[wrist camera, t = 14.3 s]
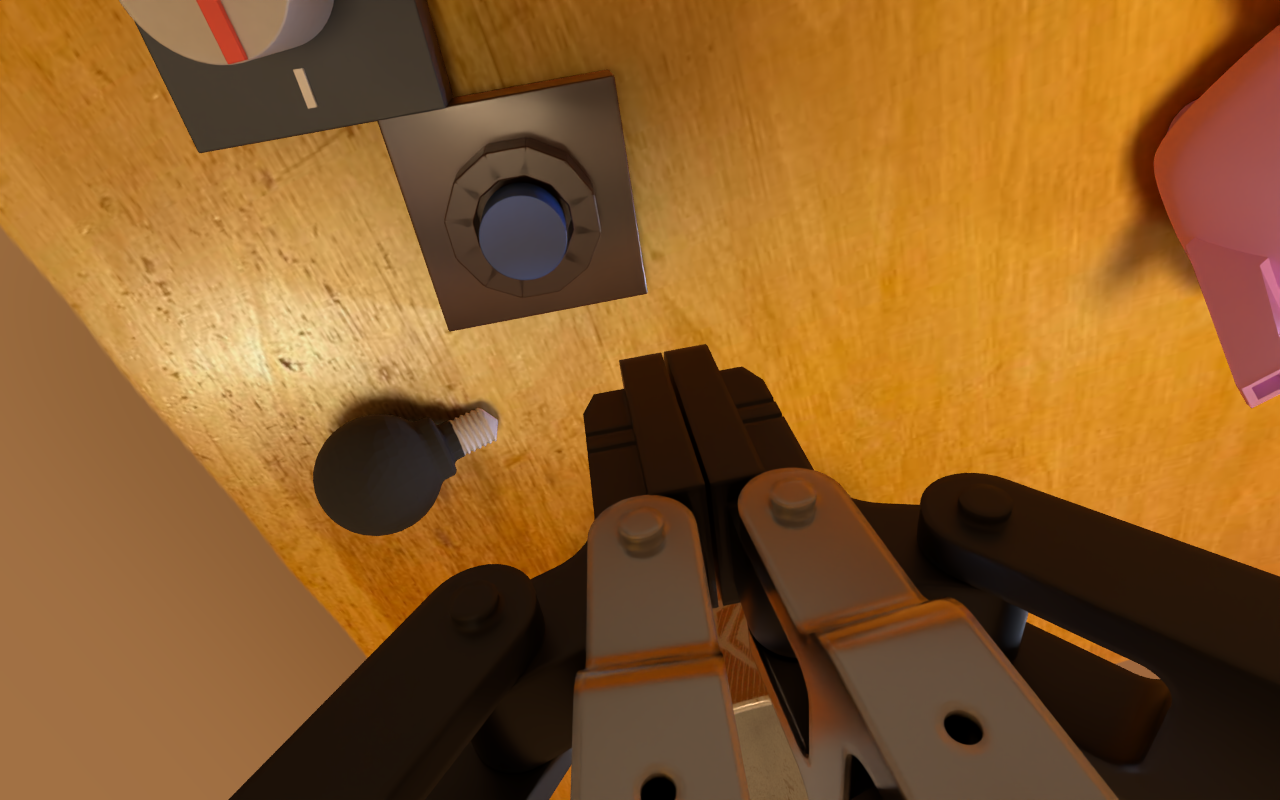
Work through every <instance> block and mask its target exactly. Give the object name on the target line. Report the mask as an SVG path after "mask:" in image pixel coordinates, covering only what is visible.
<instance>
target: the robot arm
mask: <svg viewBox="0 0 1280 800" xmlns="http://www.w3.org/2000/svg"><path fill="white" fill-rule="evenodd" d="M619 363H620V369H621V375H622V381H623V386H624V389H621V390H615V391H610V392H605V393H599V394H594V395H593V397H592V399H591V401H590V403H589V404H588V406H587V408H586V410H585V412H584V414H583V415H584V424H585V433H586V442H587V451H588V461H589V470H590V479H591V488H592V497H593V506H594V515H595V521H594V522H593V524H592V525H591V528H590V530H589V533H588V540H587V542H586V543H585V545H584V546H583V547H582V548H581V549H580V550H579V551H578V552H577V553H576V554H575V555H574V556H573V557H572V558H570V559H569V560H567V561H566V562H564V563H563V564H561V565H559V566H557V567H555V568H553V569H551V570H549V571H547V572H545V573H543V574H541V575H539V576H536V577H534V578H532V579H529V578H528V576H527V575H526V574H524V573H523V572H522V571H520V570H518V569H516V568H514V567H511V566H507V565H501V564H488V565H481V566H477V567H473V568H470V569H467V570H465V571H462V572H460V573H458V574H456V575H454V576H452V577H451V578H449V579H448V580H446V581H445V582H444V583H442V584H441V585H440V586H439V587H438V588H437V589H435V590H434V591H433V592H432V593H431V594H430V595H429V596H428V597H427V598H426V599H425V600H424V601H423V602H422V603H421V605H420V606H419V607H418V608H417V609H416V610H415V611H414V612H413V613H412V614H411V615H410V616H409V617H408V618H407V619H406V620H405V621H404V622H403V623H402V624H401V625H400V626H399V627H398V628H397V629H396V630H395V631H394V632H393V633H392V634H391V635H390V636H389V637H388V638H387V639H386V640H385V641H384V642H383V643H382V644H381V645H380V646H379V647H378V648H377V649H376V650H375V651H374V652H373V653H372V654H371V655H370V656H369V657H368V658H367V659H366V661H364V662H363V663H362V664H361V665H360V667H359V668H358V669H357V670H356V671H355V672H354V673H353V674H352V675H351V676H350V677H349V678H348V679H347V680H346V681H345V682H344V683H343V684H342V685H341V686H340V687H339V688H338V689H337V690H336V691H335V692H334V693H333V694H332V695H331V696H330V697H329V698H328V699H327V700H326V701H325V702H324V703H323V704H322V705H321V706H320V707H319V708H318V709H317V710H316V711H315V712H314V713H313V714H312V715H311V716H310V717H309V718H308V719H307V720H306V721H305V722H304V723H303V724H302V726H301V727H299V729H298V730H297V731H296V732H295V733H294V734H293V735H292V736H291V737H290V738H289V739H288V740H287V741H286V742H285V743H284V744H283V745H282V746H281V747H280V748H279V749H278V750H277V751H276V752H275V753H274V754H273V755H272V756H271V757H270V758H269V759H268V760H267V761H266V762H265V763H264V764H263V765H262V766H261V767H260V768H259V769H258V770H257V771H256V772H255V773H254V774H253V775H252V776H251V777H250V778H249V779H248V780H247V781H246V782H245V783H244V784H243V785H242V786H241V788H240V789H238V790H237V792H236V793H235V794H234V795H233V796H232V797H231V798H230V799H229V800H549V799H550V797H551V796H552V794H553V793H554V791H555V789H556V788H557V786H558V785H559V783H560V782H561V780H562V778H563V777H564V775H565V774H566V772H567V771H568V769H569V767H570V766H571V764H572V768H571V800H750V795H749V790H748V785H747V779H746V774H745V769H744V763H743V758H742V752H741V747H740V742H739V736H738V731H737V726H736V720H735V715H734V710H733V704H732V699H731V693H730V688H729V683H728V677H727V672H726V667H725V662H724V658H723V654H722V651H720V648H719V643H718V637H717V632H716V626H715V621H714V616H713V608H717V607H719V605H718V596H717V587H718V590H719V593H720V597H721V600H722V603H723V606H726V605H731V604H736V603H741V605H742V608H743V611H744V614H745V617H746V620H747V626H748V639H749V648H750V651H751V654H752V657H753V659H754V662H755V664H756V667H757V669H758V671H759V674H760V676H761V679H762V681H763V684H764V686H765V688H766V691H767V693H768V696H769V698H770V700H771V703H772V705H773V708H774V710H775V713H776V715H777V717H778V720H779V722H780V725H781V727H782V730H783V732H784V734H785V737H786V739H787V742H788V744H789V747H790V749H791V751H792V754H793V756H794V759H795V761H796V763H797V766H798V768H799V771H800V774H801V777H802V780H803V783H804V786H805V789H806V793H807V797H808V800H1280V577H1279V576H1277V575H1274V574H1271V573H1268V572H1265V571H1263V570H1260V569H1257V568H1254V567H1251V566H1249V565H1246V564H1243V563H1240V562H1237V561H1234V560H1232V559H1229V558H1226V557H1223V556H1220V555H1218V554H1215V553H1212V552H1209V551H1206V550H1204V549H1201V548H1198V547H1195V546H1192V545H1190V544H1187V543H1184V542H1181V541H1178V540H1176V539H1173V538H1170V537H1167V536H1164V535H1162V534H1159V533H1156V532H1153V531H1150V530H1147V529H1145V528H1142V527H1139V526H1136V525H1133V524H1131V523H1128V522H1125V521H1122V520H1119V519H1117V518H1114V517H1111V516H1108V515H1105V514H1103V513H1100V512H1097V511H1094V510H1091V509H1089V508H1086V507H1083V506H1080V505H1077V504H1075V503H1072V502H1069V501H1066V500H1063V499H1060V498H1058V497H1055V496H1052V495H1049V494H1046V493H1044V492H1041V491H1038V490H1035V489H1032V488H1030V487H1027V486H1024V485H1021V484H1018V483H1016V482H1013V481H1010V480H1007V479H1004V478H1001V477H997V476H993V475H988V474H980V473H961V474H953V475H949V476H945V477H943V478H940V479H938V480H936V481H935V482H933V483H931V484H930V485H929V486H928V487H927V488H926V489H925V491H924V493H923V494H922V497H921V502H920V505H910V504H886V503H872V502H866V501H861V500H857V499H853V498H850V496H849V495H848V494H847V492H846V491H845V490H844V488H843V487H842V486H841V485H840V484H839V483H838V482H836V481H835V480H834V479H832V478H831V477H829V476H827V475H825V474H823V473H820V472H818V471H814V469H813V468H812V466H811V464H810V462H809V461H808V459H807V457H806V455H805V453H804V452H803V450H802V448H801V446H800V445H799V443H798V441H797V439H796V437H795V436H794V434H793V432H792V430H791V429H790V427H789V425H788V423H787V421H786V420H785V418H784V417H782V413H781V411H780V409H779V407H778V405H777V404H776V402H774V400H773V397H772V395H771V393H770V391H769V390H768V388H767V386H766V384H765V382H764V381H763V379H761V378H759V377H758V376H756V375H755V374H753V373H752V372H750V371H748V370H747V369H745V368H744V367H737V368H731V369H726V370H721V371H719V370H718V367H717V365H716V363H715V361H714V359H713V357H712V354H711V352H710V350H709V348H708V346H707V345H706V344H703V345H698V346H692V347H687V348H682V349H676V350H671V351H666V352H664V360H663V357H662V354H661V353H656V354H650V355H645V356H640V357H634V358H629V359H624V360H619ZM716 583H717V587H716ZM1028 613H1031V614H1033V615H1036V616H1038V617H1040V618H1042V619H1044V620H1046V621H1048V622H1051V623H1053V624H1055V625H1057V626H1059V627H1061V628H1063V629H1066V630H1068V631H1070V632H1072V633H1074V634H1076V635H1078V636H1081V637H1083V638H1085V639H1087V640H1089V641H1091V642H1093V643H1096V644H1098V645H1100V646H1102V647H1104V648H1106V649H1108V650H1111V651H1113V652H1115V653H1117V654H1119V655H1121V656H1123V657H1126V658H1128V659H1130V660H1132V661H1134V662H1136V663H1138V664H1140V665H1142V666H1144V667H1146V668H1147V669H1149V670H1151V671H1152V672H1153V673H1154V674H1156V675H1157V676H1158V677H1159V678H1160V679H1150V678H1146V677H1142V676H1139V675H1137V674H1134V673H1132V672H1130V671H1128V670H1126V669H1124V668H1122V667H1120V666H1118V665H1116V664H1113V663H1111V662H1109V661H1107V660H1105V659H1103V658H1101V657H1099V656H1097V655H1095V654H1092V653H1090V652H1088V651H1086V650H1084V649H1082V648H1080V647H1078V646H1076V645H1074V644H1071V643H1069V642H1067V641H1065V640H1063V639H1061V638H1059V637H1057V636H1055V635H1053V634H1050V633H1048V632H1046V631H1044V630H1042V629H1040V628H1038V627H1036V626H1034V625H1032V624H1029V623H1027V622H1026V620H1027V616H1028Z"/></svg>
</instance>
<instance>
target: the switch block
mask: <svg viewBox="0 0 1280 800" xmlns="http://www.w3.org/2000/svg"><path fill="white" fill-rule="evenodd" d="M378 124H379V127H380V130H381V133H382V136H383V139H384V142H385V144H386V147H387V150H388V153H389V156H390V159H391V162H392V165H393V168H394V171H395V174H396V177H397V180H398V183H399V186H400V189H401V192H402V195H403V197H404V200H405V203H406V206H407V209H408V212H409V215H410V218H411V221H412V224H413V227H414V230H415V233H416V236H417V239H418V242H419V245H420V248H421V250H422V253H423V256H424V259H425V262H426V265H427V268H428V271H429V274H430V277H431V280H432V283H433V286H434V289H435V292H436V295H437V298H438V301H439V304H440V306H441V309H442V312H443V315H444V318H445V321H446V324H447V327H448V330H449V331H455V330H460V329H466V328H471V327H476V326H481V325H486V324H492V323H497V322H502V321H507V320H512V319H518V318H523V317H528V316H533V315H538V314H544V313H549V312H554V311H559V310H564V309H570V308H575V307H580V306H585V305H590V304H596V303H601V302H606V301H611V300H617V299H622V298H627V297H632V296H637V295H643V294H647V292H648V291H647V285H646V279H645V272H644V266H643V259H642V253H641V246H640V240H639V233H638V227H637V220H636V214H635V207H634V201H633V194H632V188H631V181H630V175H629V168H628V162H627V155H626V149H625V142H624V136H623V129H622V123H621V116H620V110H619V103H618V97H617V91H616V84H615V78H614V75H613V74H612V73H611V72H610V70H602V71H597V72H591V73H586V74H580V75H575V76H570V77H564V78H559V79H553V80H548V81H542V82H537V83H531V84H526V85H520V86H515V87H509V88H504V89H498V90H493V91H487V92H482V93H476V94H471V95H465V96H460V97H454V98H452V99H451V101H450V102H449V103H448V105H447V106H446V108H445V109H440V110H434V111H429V112H423V113H418V114H412V115H407V116H401V117H396V118H390V119H385V120H379V121H378ZM519 182H525V183H531V184H535V185H538V186H540V187H542V188H544V189H546V190H547V191H548V192H550V193H551V194H552V195H553V196H554V197H555V198H556V199H557V201H558V202H559V204H560V205H561V207H562V210H563V212H564V216H565V222H566V230H567V248H566V251H565V254H564V256H563V258H562V260H561V262H560V263H559V264H558V266H557V267H556V268H555V269H554V270H553V271H551V272H550V273H548V274H547V275H545V276H543V277H540V278H537V279H532V280H518V279H513V278H510V277H507V276H505V275H503V274H501V273H500V272H498V271H497V270H495V269H494V268H493V267H492V266H491V265H490V264H489V263H488V261H487V260H486V258H485V257H484V255H483V253H482V250H481V248H480V244H479V228H480V223H481V218H482V214H483V210H484V207H485V205H486V203H487V201H488V200H489V198H490V197H491V196H492V195H493V194H494V193H495V192H496V191H497V190H498V189H500V188H502V187H504V186H506V185H508V184H512V183H519Z"/></svg>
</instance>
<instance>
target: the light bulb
mask: <svg viewBox="0 0 1280 800" xmlns="http://www.w3.org/2000/svg"><path fill="white" fill-rule="evenodd" d="M497 426H498V420H497V419H496V418H494V417H493V416H491V415H490V414H488V413H487V412H485V411H484V410H483V409H481V408H476V410H475V411H473V410H471V411H470V413H465V415H464V416H463V415H460V418H456V417H455V418H454V420H453V421H452V420H449V421H446V422H444V423H442V424H440V425H437V424H435V423H434V422H433V421H432V419H431V418H429V417H425V418H423V419H421V420H418V421H415V422H412V421H409V420H406V419H404V418H400V417H397V416H392V415H381V414H375V415H368V416H364V417H360V418H357V419H355V420H352V421H350V422H348V423H346V424H345V425H343V426H342V427H340V428H339V429H337V430H336V431H335V432H334V433H333V434H332V435H331V436H330V437H329V438H328V439H327V440H326V442H325V443H324V445H323V446H322V448H321V450H320V452H319V454H318V456H317V459H316V462H315V467H314V472H313V483H314V489H315V493H316V496H317V499H318V501H319V503H320V505H321V507H322V508H323V510H324V511H325V512H326V514H327V515H328V516H329V517H330V518H331V519H332V520H333V521H334V522H336V523H337V524H338V525H340V526H342V527H343V528H345V529H347V530H349V531H351V532H354V533H358V534H362V535H371V536H381V535H389V534H393V533H396V532H400V531H402V530H404V529H406V528H408V527H410V526H412V525H414V524H415V523H416V522H418V521H419V520H420V519H421V518H422V517H423V516H424V515H426V514H427V512H428V511H429V510H430V508H431V507H432V506H433V504H434V502H435V500H436V498H437V496H438V494H439V491H440V488H441V485H442V483H443V481H444V480H445V479H447V478H449V477H451V476H453V475H455V473H456V470H457V469H456V467H455V462H456V461H457V460H458V459H460V458H462V457H464V456H465V454H466V453H468V454H470V452H471V451H474V452H475V451H476V448H479V449H481V446H483V445H484V446H486V444H487V443H490V444H491V443H492V441H495V442H496V441H497Z"/></svg>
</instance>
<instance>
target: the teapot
mask: <svg viewBox="0 0 1280 800" xmlns="http://www.w3.org/2000/svg"><path fill="white" fill-rule="evenodd" d="M1154 175H1155V178H1156V182H1157V186H1158V190H1159V193H1160V196H1161V198H1162V201H1163V204H1164V206H1165V209H1166V212H1167V214H1168V217H1169V219H1170V221H1171V224H1172V226H1173V228H1174V231H1175V233H1176V235H1177V237H1178V239H1179V241H1180V243H1181V245H1182V247H1183V249H1184V251H1185V252H1186V254H1187V256H1188V258H1189V259H1190V261H1191V263H1192V265H1193V268H1194V271H1195V274H1196V276H1197V279H1198V282H1199V285H1200V287H1201V290H1202V293H1203V295H1204V298H1205V301H1206V304H1207V306H1208V309H1209V312H1210V315H1211V317H1212V320H1213V323H1214V326H1215V328H1216V331H1217V334H1218V337H1219V339H1220V342H1221V345H1222V348H1223V350H1224V353H1225V356H1226V359H1227V361H1228V364H1229V367H1230V370H1231V372H1232V375H1233V378H1234V381H1235V383H1236V386H1237V387H1238V389H1239V391H1240V393H1241V395H1242V396H1243V398H1244V400H1245V402H1246V404H1248V405H1249V406H1250V407H1251V408H1253V407H1255V406H1257V405H1259V404H1261V403H1263V402H1265V401H1267V400H1269V399H1271V398H1273V397H1275V396H1277V395H1279V394H1280V25H1278V26H1277V27H1276V28H1275V29H1273V30H1272V31H1271V32H1270V33H1269V34H1267V35H1266V36H1265V37H1264V38H1263V39H1261V40H1260V41H1259V42H1258V43H1257V44H1256V45H1254V46H1253V47H1252V48H1251V49H1250V50H1249V51H1248V52H1247V53H1246V54H1245V55H1243V56H1242V57H1241V58H1240V59H1239V60H1238V61H1237V62H1236V63H1235V64H1234V65H1233V66H1232V67H1231V68H1230V69H1228V70H1227V71H1226V72H1225V73H1224V74H1223V75H1222V76H1221V77H1220V78H1219V79H1218V80H1217V81H1216V82H1215V83H1214V84H1213V85H1212V86H1211V87H1210V88H1209V89H1208V90H1207V91H1206V92H1205V93H1204V94H1203V95H1202V96H1201V97H1200V98H1199V99H1196V100H1194V101H1192V102H1191V103H1189V104H1188V105H1186V106H1185V107H1184V108H1183V109H1182V110H1181V111H1180V112H1179V113H1178V114H1177V115H1176V116H1175V118H1174V119H1173V121H1172V122H1171V124H1170V126H1169V129H1168V132H1167V135H1166V136H1165V137H1164V138H1163V140H1162V142H1161V144H1160V146H1159V147H1158V149H1157V151H1156V154H1155V158H1154Z"/></svg>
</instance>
